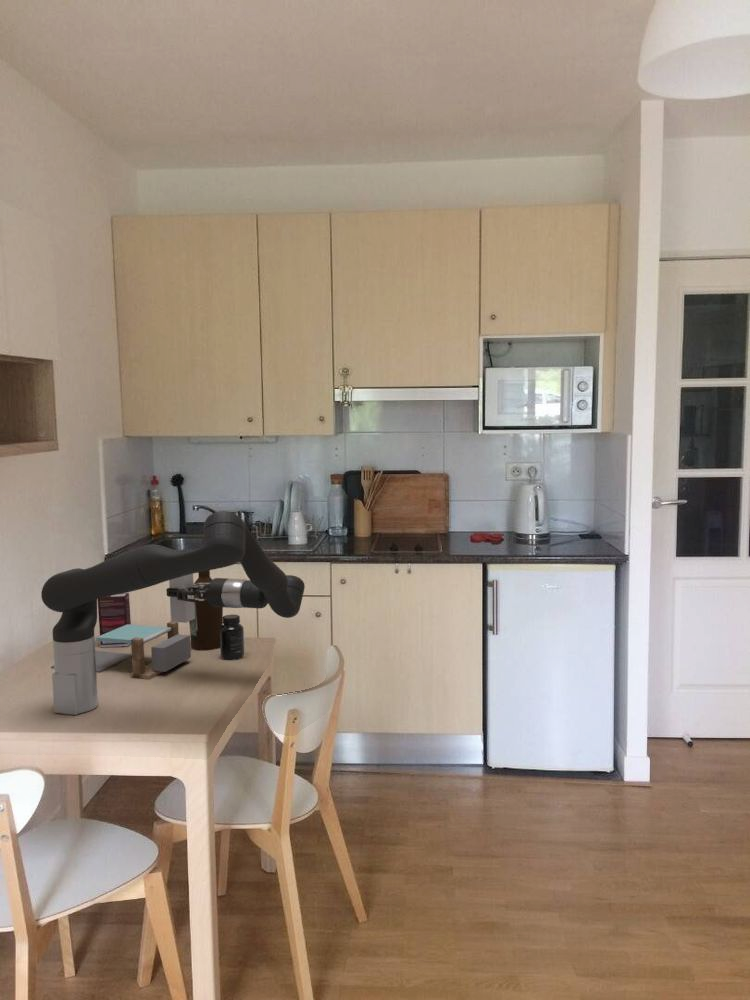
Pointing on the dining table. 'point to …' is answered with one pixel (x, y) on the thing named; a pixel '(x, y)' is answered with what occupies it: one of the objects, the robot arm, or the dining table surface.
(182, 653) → the teal topped platform
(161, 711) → the dining table surface
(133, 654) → the stand
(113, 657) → the mat
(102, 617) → the supplement box
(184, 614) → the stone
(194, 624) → the olive oil
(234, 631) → the supplement bottle
